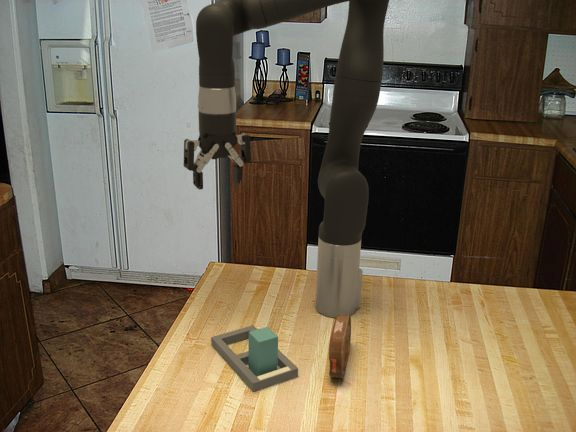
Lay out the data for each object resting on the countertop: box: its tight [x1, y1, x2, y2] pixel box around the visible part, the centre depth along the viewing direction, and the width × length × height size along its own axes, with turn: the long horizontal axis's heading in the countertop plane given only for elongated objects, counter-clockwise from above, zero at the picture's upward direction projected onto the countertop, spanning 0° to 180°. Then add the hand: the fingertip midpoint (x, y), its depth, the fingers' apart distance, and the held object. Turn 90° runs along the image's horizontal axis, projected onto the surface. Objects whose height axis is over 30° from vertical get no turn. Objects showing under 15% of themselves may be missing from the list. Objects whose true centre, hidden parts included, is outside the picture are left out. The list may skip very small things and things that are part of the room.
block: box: [247, 326, 279, 377], centre depth 118 cm, size 4×4×8 cm
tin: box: [328, 315, 352, 380], centre depth 121 cm, size 15×3×8 cm, turn 168°
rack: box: [210, 324, 299, 393], centre depth 122 cm, size 10×18×2 cm, turn 31°
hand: (218, 185), depth 133 cm, fingers open, 8 cm apart
